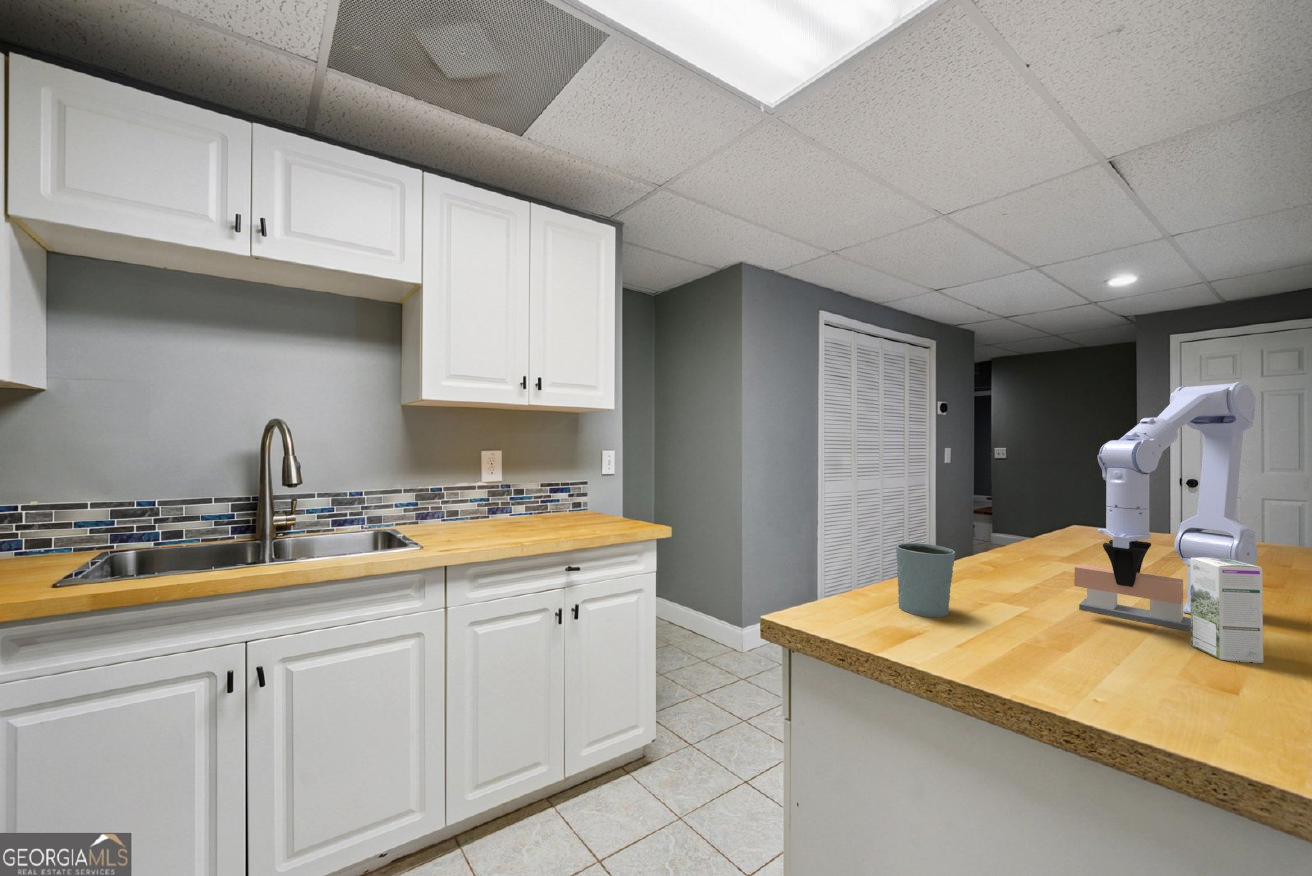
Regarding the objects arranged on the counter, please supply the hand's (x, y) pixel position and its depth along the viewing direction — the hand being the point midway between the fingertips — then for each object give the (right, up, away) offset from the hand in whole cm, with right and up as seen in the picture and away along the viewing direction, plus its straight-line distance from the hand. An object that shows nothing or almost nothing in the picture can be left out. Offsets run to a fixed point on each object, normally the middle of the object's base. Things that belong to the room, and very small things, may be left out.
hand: (1127, 583), depth 93 cm
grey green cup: (-32, -8, +8) cm, 34 cm away
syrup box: (+4, -8, -12) cm, 15 cm away
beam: (0, -2, 0) cm, 2 cm away
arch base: (+6, -8, +5) cm, 11 cm away
